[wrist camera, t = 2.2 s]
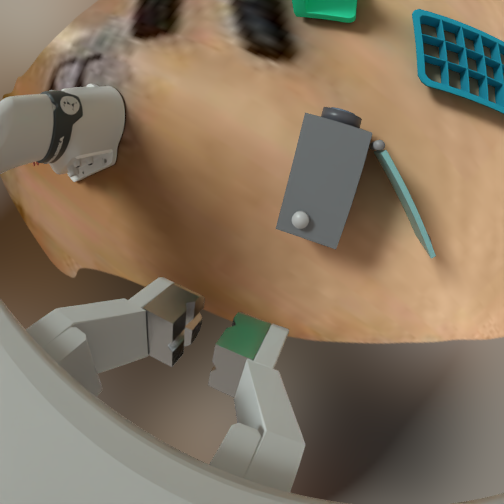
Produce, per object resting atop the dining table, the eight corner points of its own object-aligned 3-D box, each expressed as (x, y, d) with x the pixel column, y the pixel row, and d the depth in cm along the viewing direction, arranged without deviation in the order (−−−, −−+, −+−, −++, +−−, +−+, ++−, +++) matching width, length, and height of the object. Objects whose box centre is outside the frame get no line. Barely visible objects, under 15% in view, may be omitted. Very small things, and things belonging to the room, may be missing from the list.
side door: (366, 144, 29) (372, 142, 22) (375, 139, 29) (383, 136, 22) (414, 235, 31) (429, 259, 24) (422, 230, 30) (439, 253, 23)
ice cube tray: (407, 16, 20) (411, 7, 17) (522, 61, 14) (531, 58, 11) (413, 88, 25) (418, 83, 22) (528, 131, 19) (538, 131, 16)
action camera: (316, 107, 30) (307, 96, 23) (371, 124, 28) (377, 117, 22) (289, 213, 36) (274, 230, 30) (339, 231, 35) (336, 252, 28)
